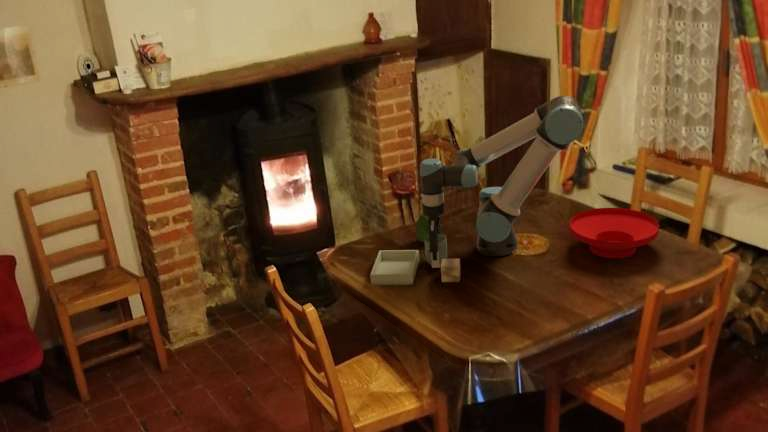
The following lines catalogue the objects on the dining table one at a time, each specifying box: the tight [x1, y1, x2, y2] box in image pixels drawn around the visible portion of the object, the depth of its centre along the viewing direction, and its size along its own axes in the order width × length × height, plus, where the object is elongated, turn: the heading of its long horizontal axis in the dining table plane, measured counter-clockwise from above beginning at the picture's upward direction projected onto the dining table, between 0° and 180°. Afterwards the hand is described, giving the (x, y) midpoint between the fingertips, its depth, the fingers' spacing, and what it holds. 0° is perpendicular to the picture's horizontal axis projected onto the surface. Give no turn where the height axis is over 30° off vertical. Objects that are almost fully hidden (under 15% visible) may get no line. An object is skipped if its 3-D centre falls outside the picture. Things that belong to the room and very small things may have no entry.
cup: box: [424, 233, 448, 267], centre depth 292 cm, size 8×8×10 cm
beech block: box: [440, 258, 462, 283], centre depth 281 cm, size 6×6×6 cm
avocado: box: [414, 212, 429, 244], centre depth 310 cm, size 8×8×12 cm
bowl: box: [568, 207, 660, 259], centre depth 291 cm, size 30×30×10 cm
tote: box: [369, 249, 420, 286], centre depth 290 cm, size 14×19×4 cm
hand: (437, 261), depth 293 cm, fingers closed on cup, 8 cm apart
